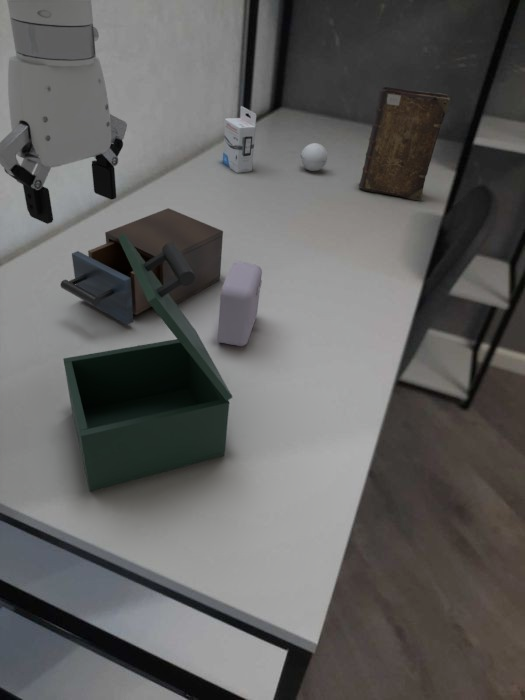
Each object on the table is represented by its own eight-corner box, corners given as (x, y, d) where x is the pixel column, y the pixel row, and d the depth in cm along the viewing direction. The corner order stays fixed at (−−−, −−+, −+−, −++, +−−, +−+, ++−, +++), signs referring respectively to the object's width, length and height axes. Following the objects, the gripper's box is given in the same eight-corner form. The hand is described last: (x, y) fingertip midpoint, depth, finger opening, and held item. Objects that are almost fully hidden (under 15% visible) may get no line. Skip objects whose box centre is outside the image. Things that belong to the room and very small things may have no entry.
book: (357, 190, 138) (380, 87, 123) (359, 181, 144) (382, 82, 129) (420, 202, 136) (451, 99, 121) (420, 193, 141) (450, 93, 126)
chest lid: (148, 301, 45) (193, 273, 45) (117, 237, 53) (155, 213, 54) (226, 401, 56) (262, 378, 57) (191, 334, 65) (221, 315, 65)
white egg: (301, 164, 150) (305, 137, 146) (326, 169, 149) (331, 142, 145) (294, 174, 143) (298, 147, 138) (320, 179, 142) (325, 152, 137)
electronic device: (247, 351, 78) (253, 295, 72) (217, 345, 79) (220, 289, 73) (258, 315, 86) (265, 262, 80) (231, 310, 87) (235, 257, 81)
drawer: (106, 337, 76) (101, 292, 71) (55, 307, 81) (47, 262, 76) (187, 291, 88) (187, 250, 83) (138, 267, 93) (136, 227, 88)
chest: (89, 491, 56) (80, 436, 51) (72, 412, 65) (63, 358, 60) (224, 455, 62) (229, 402, 57) (192, 387, 71) (193, 336, 66)
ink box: (221, 162, 144) (224, 105, 135) (237, 161, 146) (241, 105, 137) (236, 173, 139) (241, 115, 130) (252, 171, 141) (258, 114, 132)
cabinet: (163, 312, 84) (163, 259, 78) (109, 283, 89) (105, 232, 83) (220, 279, 94) (223, 231, 88) (168, 255, 99) (168, 208, 93)
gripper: (93, 31, 59) (105, 180, 69) (-52, 40, 47) (-11, 219, 57) (144, 43, 56) (148, 196, 67) (3, 56, 44) (36, 241, 54)
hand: (75, 207), depth 62 cm, fingers open, 9 cm apart
